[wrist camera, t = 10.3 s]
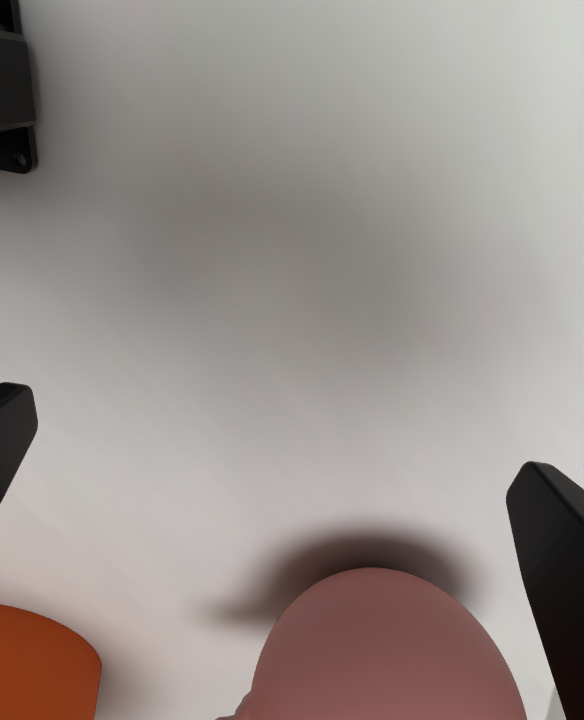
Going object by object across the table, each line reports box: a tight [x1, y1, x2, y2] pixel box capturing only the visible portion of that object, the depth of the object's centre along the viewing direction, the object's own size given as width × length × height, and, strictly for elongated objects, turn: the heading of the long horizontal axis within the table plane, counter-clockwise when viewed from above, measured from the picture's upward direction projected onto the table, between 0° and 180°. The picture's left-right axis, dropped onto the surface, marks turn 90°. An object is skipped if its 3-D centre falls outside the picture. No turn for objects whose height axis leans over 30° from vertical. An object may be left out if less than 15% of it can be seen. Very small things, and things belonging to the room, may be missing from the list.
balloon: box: [216, 567, 527, 720], centre depth 26 cm, size 15×20×15 cm
